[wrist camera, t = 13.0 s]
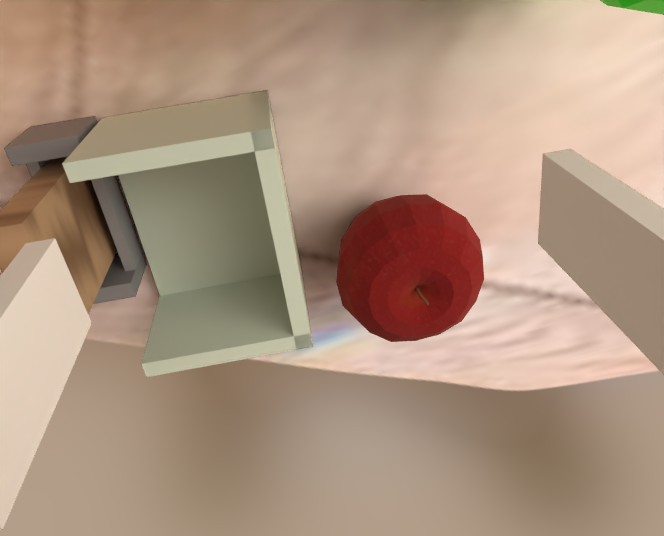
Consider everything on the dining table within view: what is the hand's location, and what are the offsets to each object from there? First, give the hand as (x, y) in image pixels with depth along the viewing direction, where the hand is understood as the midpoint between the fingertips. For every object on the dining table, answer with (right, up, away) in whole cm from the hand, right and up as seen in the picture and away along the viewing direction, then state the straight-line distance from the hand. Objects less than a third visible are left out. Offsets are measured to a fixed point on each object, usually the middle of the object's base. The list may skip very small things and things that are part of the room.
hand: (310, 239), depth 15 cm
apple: (+5, +3, +33) cm, 33 cm away
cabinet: (-11, +4, +29) cm, 32 cm away
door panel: (-18, +4, +28) cm, 34 cm away
